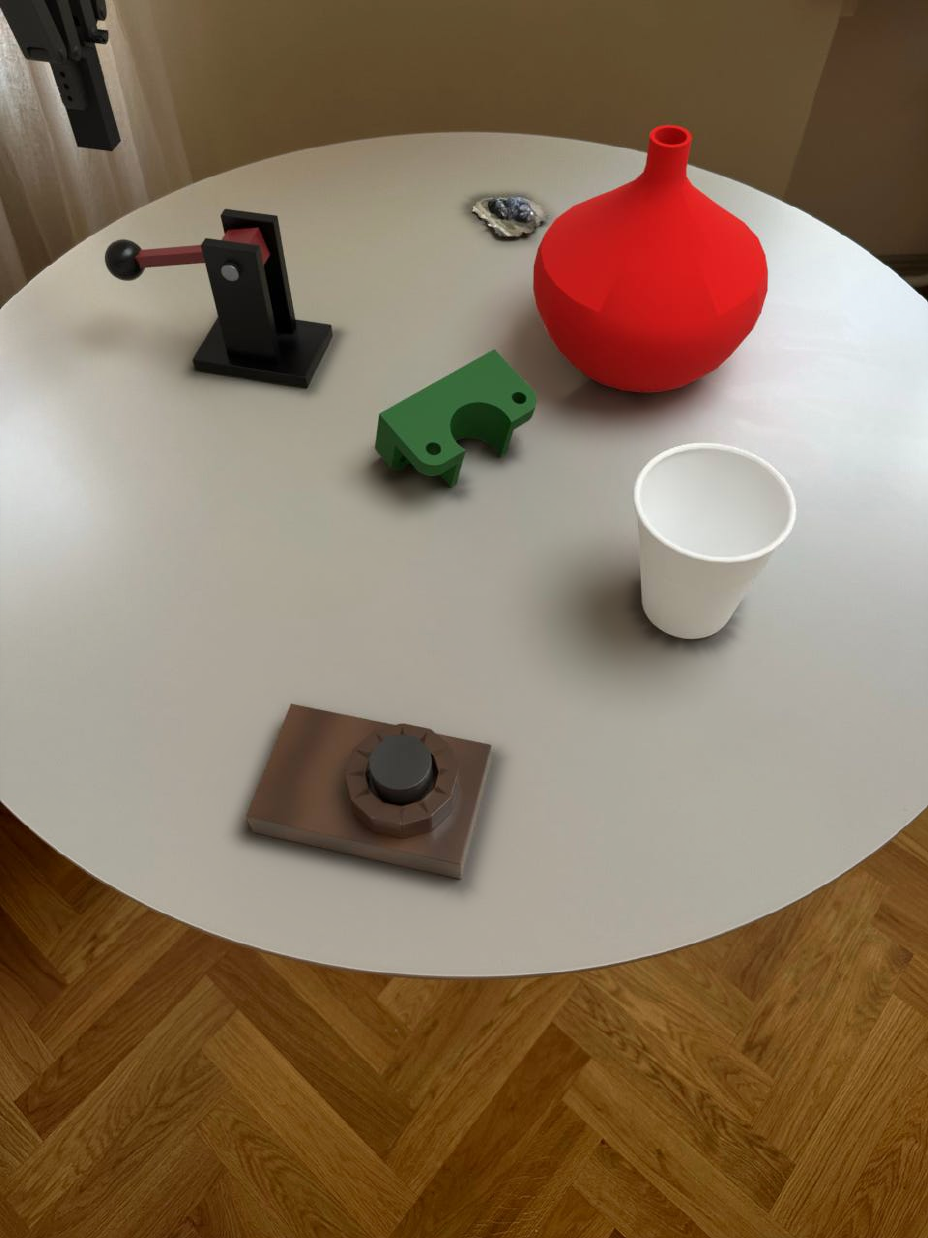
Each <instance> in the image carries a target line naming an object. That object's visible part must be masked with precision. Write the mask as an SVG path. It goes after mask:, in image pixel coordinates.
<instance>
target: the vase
mask: <svg viewBox="0 0 928 1238" xmlns="http://www.w3.org/2000/svg"><path fill="white" fill-rule="evenodd" d="M692 140H693V136H692V133H691V132H690V131H689V130H688V129H687V128H685V127H682V126H679V125H672V124H666V125H665V124H664V125H660V126H657V127H655V128H653V129H652V130H651V131H650V132H649V139H648V146H647V153H646V159H645V165H644V168H643V172H641V174H639V175H638V176H637V177H636V178H635V179H633V180H631V181H629V182H627V183H624V184H622V185H620V186H617V187H616V188H613V189H612V190H609V191H607V192H606V191H605V192H604V193H601V194H599V195H596V196H593V197H591V198H589V199H586V200H584V201H582V202H579V203H577V204H575V205H572V206H571V207H569V208H568V209H567V210H565V211H564V212H563V213H562V214H560V215H559V216H558V217H556V218H555V219H554V221H553V222H552V223H551V225H550V226H549V228H548V229H547V230H546V232H545V233H544V235H543V237H542V239H541V240H540V243H539V245H538V247H537V251H536V254H535V259H534V262H533V274H532V279H533V280H532V289H533V296H534V301H535V306H536V309H537V311H538V314H539V316H540V318H541V320H542V323H543V325H544V328H545V329H546V332H547V334H548V337H549V338H550V339H551V341H552V343H553V344H554V346H555V347H556V349H557V351H558V352H559V353H560V354H561V355H562V356H563V357H564V358H565V359H566V360H567V361H569V363H570V364H571V365H573V367H575V368H576V369H577V370H578V371H579V372H581V374H583V376H585V377H587V378H589V379H591V380H593V381H595V382H597V383H599V384H601V385H603V386H607V387H610V388H613V389H617V390H620V391H626V392H632V393H633V392H634V393H643V394H644V393H645V394H647V393H660V392H667V391H670V390H675V389H678V388H679V389H680V388H683V387H685V386H687V385H689V384H690V383H693V382H695V381H697V380H699V379H701V378H702V377H704V376H707V375H709V373H712V372H713V371H716V370H717V369H718V368H719V367H720V366H721V365H722V364H723V363H725V361H727V360H728V359H729V358H730V357H731V356H732V355H733V354H734V353H735V351H736V350H737V349H738V348H739V347H740V345H741V344H742V343H743V342H744V341H745V340H746V339H747V337H748V336H749V335H750V334H751V333H752V332H753V330H754V328H755V326H756V324H757V322H758V321H759V318H760V315H761V314H762V311H763V307H764V304H765V300H766V297H767V295H768V291H769V290H768V289H769V268H768V263H767V255H766V253H765V250H764V248H763V245H762V243H761V241H760V239H759V237H758V235H756V234H755V233H754V231H753V230H752V229H751V228H750V226H748V224H747V223H746V222H745V221H743V220H742V219H740V218H739V217H737V216H736V215H735V214H733V213H731V212H730V211H729V210H727V209H726V208H725V207H722V206H721V205H720V204H719V203H716V202H715V201H714V200H712V199H711V198H710V197H709V196H707V195H706V194H705V193H704V192H702V191H701V190H699V189H698V188H697V187H696V186H694V185H693V184H692V182H691V180H690V179H689V178H688V172H687V171H688V169H687V168H688V163H689V162H688V161H689V157H690V151H691V145H692Z"/></svg>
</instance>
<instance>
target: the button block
mask: <svg viewBox="0 0 928 1238" xmlns="http://www.w3.org/2000/svg"><path fill="white" fill-rule="evenodd" d="M400 734H404V735H410V736H413V737H416V738H418V739H419V740H421V741H422V742H423V743H424V744H425V745H426V746H427V747H428V749H429V751H430V753H431V757H432V770H433V778H432V782H431V785H430V787H429V789H428V790H427V791H426V792H425V793H424V794H423V795H422V796H421V797H419V798H418V799H416V800H414V801H411V802H407V803H395V802H391V801H388V800H386V799H384V798H383V797H381V796H380V795H379V794H378V793H377V792H376V790H375V789H374V787H373V784H372V780H371V774H370V768H369V759H370V755H371V753H372V751H373V749H374V748H375V746H376V745H377V744H378V743H379V742H381V741H382V740H384V739H385V738H387V737H390V736H393V735H400ZM491 764H492V744H489V743H486V742H485V743H484V742H479V741H476V740H470V739H466V738H461V737H455V736H451V735H446V734H441V733H436V732H435V731H434V730H432V729H431V728H428V727H423V726H418V725H414V724H408V723H401V722H400V723H398V724H393V723H387V722H382V721H378V720H373V719H368V718H364V717H358V716H354V715H348V714H344V713H339V712H334V711H330V710H329V711H328V710H324V709H320V708H315V707H309V706H305V705H299V704H295V703H290V705H289V707H288V710H287V712H286V715H285V717H284V720H283V723H282V725H281V728H280V731H279V732H278V735H277V738H276V740H275V743H274V745H273V748H272V750H271V753H270V755H269V758H268V761H267V763H266V766H265V768H264V769H263V774H262V776H261V778H260V780H259V783H258V785H257V788H256V791H255V793H254V795H253V799H252V800H251V803H250V806H249V809H248V811H247V814H246V819H247V821H248V824H249V827H250V829H251V832H252V833H255V834H259V835H265V836H268V837H272V838H273V837H274V838H277V839H281V840H286V841H291V842H295V843H298V844H303V845H308V846H312V847H316V848H321V849H325V850H330V851H335V852H339V853H343V854H346V855H347V854H348V855H352V856H356V857H360V858H366V859H370V860H375V861H379V862H383V863H387V864H392V865H396V866H401V867H404V868H405V867H406V868H410V869H414V870H419V871H421V872H427V873H431V874H436V875H440V876H445V877H449V878H454V879H458V880H462V878H463V875H464V870H465V866H466V862H467V859H468V856H469V855H468V854H469V851H470V846H471V843H472V839H473V835H474V832H475V827H476V823H477V820H478V815H479V812H480V807H481V804H482V801H483V795H484V792H485V788H486V785H487V780H488V777H489V773H490V768H491Z"/></svg>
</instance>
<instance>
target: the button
mask: <svg viewBox="0 0 928 1238" xmlns="http://www.w3.org/2000/svg"><path fill="white" fill-rule="evenodd" d="M369 768H370V774H371V780H372V784H373V787H374V789H375V790H376V792H377V793H378V794H379V795H380V796H381V797H383V798H384V799H386V800H388V801H391V802H395V803H407V802H411V801H414V800H416V799H418V798H419V797H421V796H422V795H423V794H424V793H425V792H426V791H427V790H428V789H429V787H430V785H431V782H432V778H433V770H432V757H431V753H430V751H429V749H428V747H427V746H426V745H425V744H424V743H423V742H422V741H421V740H419V739H418V738H416V737H413V736H410V735H404V734H400V735H393V736H390V737H387V738H385V739H384V740H382V741H381V742H379V743H378V744H377V745H376V746H375V748H374V749H373V751H372V753H371V755H370V759H369Z"/></svg>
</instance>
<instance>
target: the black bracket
mask: <svg viewBox="0 0 928 1238" xmlns="http://www.w3.org/2000/svg"><path fill="white" fill-rule="evenodd" d="M220 221H221V225H222V229H223V234H224V235H225V233H226V232H227V230H236V229H248V228H259V230H260V232H261V234H262V237H263V239H264V242H265V244H266V246H267V249H268V251H269V253H270V255H269V257H268V259H267V261H266V262H265V264H264V265H263V260H262V255H261V250H260V245H253V244H246V243H239V242H232V241H225V240H222V239H217V238H209V237H205V238H204V239H203V241H202V242H201V244H200V245H201V249H202V253H203V257H204V261H205V263H204V265H205V269H206V273H207V276H208V281H209V285H210V290H211V294H212V297H213V301H214V306H215V310H216V314H217V317H216V319H215V320H214V322H213V324H212V325H211V328H210V329H209V331H208V332H207V335H206V336H205V337H204V339H203V341H202V342H201V345H200V346H199V347H198V350H197V351H196V353H195V354H194V356H193V358H192V364H193V367H194V370H195V371H197V372H203V373H209V374H216V375H222V376H228V377H235V378H240V379H247V380H254V381H260V382H266V383H272V384H278V385H285V386H291V387H298V388H304V389H307V388H308V387H309V385H310V383H311V381H312V380H313V377H314V375H315V373H316V371H317V369H318V367H319V365H320V364H321V361H322V359H323V356H324V354H325V352H326V351H327V348H328V347H329V345H330V342H331V340H332V339H333V337H334V333H333V327H332V324H329V323H324V322H323V323H322V322H316V321H309V320H303V319H297V318H296V315H295V309H294V303H293V297H292V292H291V287H290V280H289V274H288V269H287V263H286V258H285V257H286V256H285V251H284V245H283V240H282V234H281V229H280V227H281V226H280V224H279V223H280V222H279V217H278V215H275V214H268V213H261V212H253V211H247V210H246V211H245V210H240V209H239V210H238V209H231V208H224V209H223V210H222V211H221V213H220Z"/></svg>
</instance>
